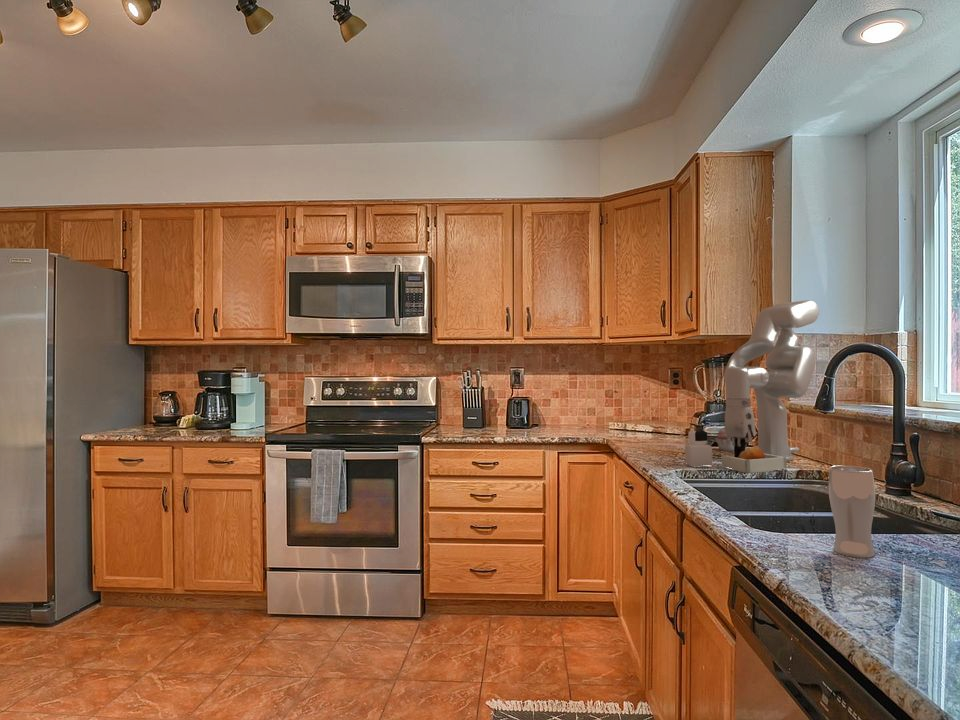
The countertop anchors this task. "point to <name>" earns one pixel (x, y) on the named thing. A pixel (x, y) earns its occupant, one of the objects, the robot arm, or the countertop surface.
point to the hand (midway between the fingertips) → (740, 457)
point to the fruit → (752, 454)
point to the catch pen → (754, 463)
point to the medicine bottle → (698, 449)
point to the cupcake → (724, 441)
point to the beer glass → (852, 509)
